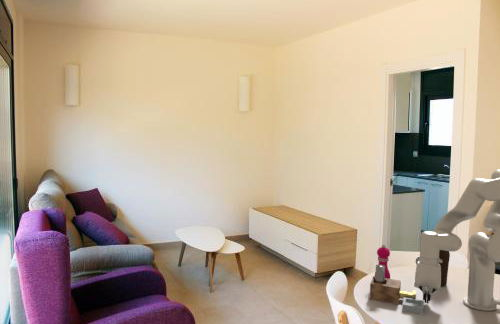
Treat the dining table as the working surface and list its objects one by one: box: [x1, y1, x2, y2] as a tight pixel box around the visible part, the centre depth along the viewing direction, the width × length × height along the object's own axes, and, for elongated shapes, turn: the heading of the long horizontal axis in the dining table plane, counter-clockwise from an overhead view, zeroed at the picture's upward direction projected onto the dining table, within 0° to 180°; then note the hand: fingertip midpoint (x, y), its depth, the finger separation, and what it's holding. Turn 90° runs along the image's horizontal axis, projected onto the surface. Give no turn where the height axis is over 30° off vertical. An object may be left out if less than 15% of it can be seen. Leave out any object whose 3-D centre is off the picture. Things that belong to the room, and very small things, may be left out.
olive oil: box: [439, 250, 451, 288], centre depth 198 cm, size 11×11×25 cm
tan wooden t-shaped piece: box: [399, 290, 417, 299], centre depth 178 cm, size 7×4×4 cm, turn 65°
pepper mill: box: [374, 243, 391, 279], centre depth 196 cm, size 7×7×20 cm
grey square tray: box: [401, 297, 425, 315], centre depth 170 cm, size 8×8×3 cm
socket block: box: [369, 275, 402, 305], centre depth 181 cm, size 12×10×7 cm
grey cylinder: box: [374, 264, 385, 284], centre depth 182 cm, size 4×4×14 cm
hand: (426, 301), depth 174 cm, fingers closed
